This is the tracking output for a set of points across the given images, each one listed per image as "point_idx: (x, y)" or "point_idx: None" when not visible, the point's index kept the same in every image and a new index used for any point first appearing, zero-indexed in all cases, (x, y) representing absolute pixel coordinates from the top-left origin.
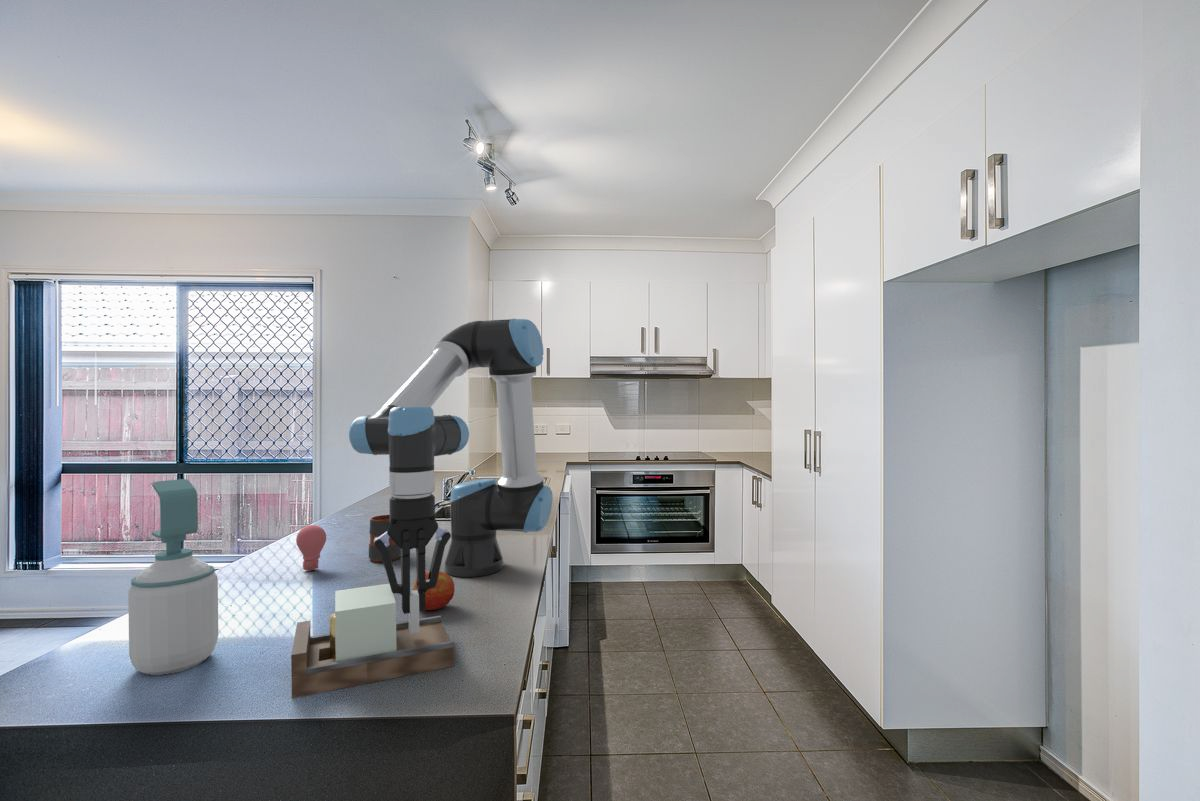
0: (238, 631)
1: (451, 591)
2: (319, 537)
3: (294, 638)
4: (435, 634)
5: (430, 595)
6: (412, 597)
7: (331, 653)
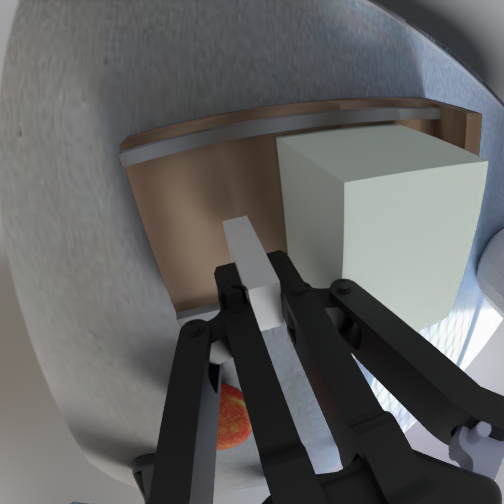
0: (444, 324)
1: None
2: None
3: None
4: (180, 241)
5: None
6: (268, 278)
7: None
